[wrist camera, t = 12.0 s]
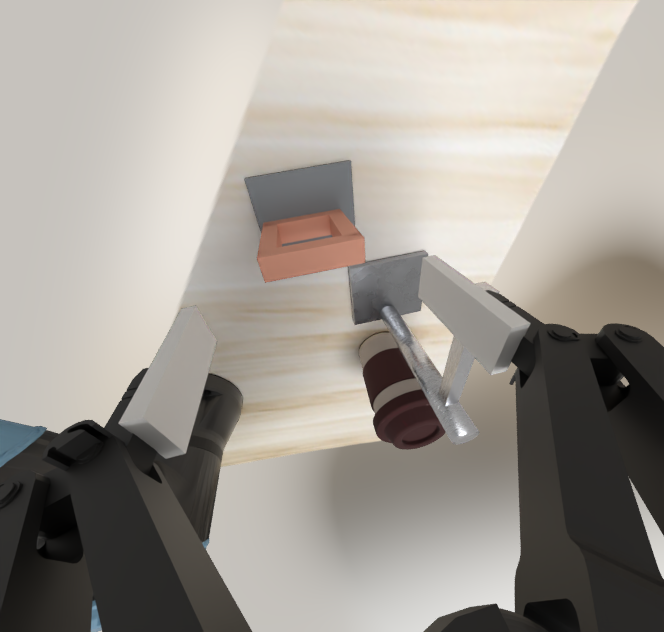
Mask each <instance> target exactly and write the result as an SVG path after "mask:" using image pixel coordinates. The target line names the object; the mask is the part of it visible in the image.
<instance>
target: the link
mask: <svg viewBox="0 0 664 632" xmlns="http://www.w3.org/2000/svg"><path fill="white" fill-rule="evenodd" d="M327 235H332V237H331V238H325V239H320V240H315V241H309V242H304V243H299V244H294V245H288V246H283V247H282V244H285V243H290V242H296V241H301V240H306V239H312V238H317V237H322V236H327ZM257 260H258V263H259V266H260V269H261V272H262V275H263V278H264V281H265V283H266V282H271V281H276V280H281V279H286V278H291V277H296V276H301V275H306V274H311V273H316V272H321V271H326V270H331V269H336V268H341V267H346V266H351V265H356V264H361V263H365V242H364V237H363V236H362V235H361V233H360V232H359V231H358V230H357V229H356V227H355V226H354V225H353V224H352V223H351V222H350V220H349V219H348V218H347V217H346V216H345V214H344V213H343V212H342V211H341V210H340V209H336V210H331V211H325V212H320V213H314V214H309V215H303V216H298V217H292V218H287V219H281V220H276V221H270V222H265V223H263V228H262V233H261V239H260V244H259V250H258V255H257Z"/></svg>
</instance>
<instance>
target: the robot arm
mask: <svg viewBox="0 0 664 632" xmlns="http://www.w3.org/2000/svg"><path fill="white" fill-rule="evenodd" d="M418 297H419V298H420V299H421V300H422V301H423V302H424V304H425V305H426V306H427V307H428V308H429V309H430V310H431V311H432V312H433V313H434V314H435V315H436V316H437V318H438V319H439V320H440V321H441V322H442V323H443V324H444V325H445V326H446V327H447V328H448V329H449V331H450V332H451V333H452V334H453V335H454V336H455V337H456V338H457V339H458V340H459V341H460V342H461V344H462V345H463V346H464V347H465V348H466V349H467V350H468V351H469V352H470V353H471V354H472V355H473V357H474V358H475V359H476V360H477V361H478V362H479V363H480V364H481V365H482V366H483V367H484V368H485V369H486V371H487V372H488V373H489V374H490V375H493V374H497V373H501V372H505V371H507V369H508V367H509V365H510V363H511V361H512V362H513V363H514V364H515V365H516V366H517V367H518V368H517V370H516V371H515V373H514V375H513V377H512V379H511V381H510V384H511V385H513V383H514V381H516V412H517V444H518V473H519V475H518V476H519V507H520V539H521V556H520V561H519V564H518V567H517V570H516V575H515V612H511V611H508V610H504V609H499V608H498V605H497V604H490V605H482V606H475V607H469V608H466V609H463V610H460V611H457V612H454V613H451V614H448V615H445V616H442V617H439V618H438V619H437V620H435V621H434V622H433V623H432V624H431V625H430V626H429V627H428V628H427V629H426V630H425V631H424V632H664V579H663V578H662V576H661V574H660V572H659V569H658V566H657V563H656V560H655V557H654V554H653V551H652V548H651V545H650V542H649V539H648V536H647V532H646V530H645V526H644V524H643V520H642V517H641V514H640V511H639V508H638V505H637V502H636V499H635V496H634V492H633V489H632V486H631V483H630V480H629V478H630V479H631V481H632V483H633V485H634V486H635V488H636V490H637V491H638V493H639V495H640V497H641V498H642V500H643V501H644V503H645V505H646V507H647V508H648V510H649V512H650V513H651V515H652V517H653V518H654V520H655V522H656V523H657V525H658V527H659V528H660V530H661V532H662V534H663V535H664V347H663V346H662V345H661V344H660V343H659V342H657V341H656V340H655V339H654V338H653V337H652V336H650V335H649V334H648V333H646V332H644V331H642V330H640V329H638V328H636V327H633V326H629V325H624V324H607V325H605V326H604V327H603V328H602V329H601V331H600V332H599V333H598V334H579V333H577V332H576V331H575V330H573V329H570V328H568V327H566V326H562V325H558V324H543V323H542V322H540V321H539V320H537V319H536V318H534V317H533V316H531V315H530V314H529V313H527V312H526V311H524V310H523V309H521V308H519V307H517V306H516V305H515V304H514V303H512V302H509V300H508V299H506V298H505V297H504V296H502V295H501V294H498V293H496V292H493V291H490V290H486V291H485V290H483V289H482V288H480V287H479V286H478V285H476V284H475V283H473V282H472V281H471V280H469V279H468V278H466V277H465V276H463V275H462V274H461V273H459V272H458V271H456V270H455V269H454V268H452V267H451V266H449V265H448V264H447V263H445V262H444V261H442V260H441V259H440V258H438V257H437V256H435V255H433V256H428V257H423V258H422V267H421V276H420V284H419V293H418ZM216 344H217V340H216V339H215V337H214V335H213V334H212V332H211V330H210V328H209V327H208V325H207V323H206V322H205V320H204V318H203V317H202V315H201V313H200V311H199V310H198V308H197V306H196V305H195V306H191V307H186V308H182V309H181V310H180V312H179V314H178V316H177V318H176V319H175V321H174V323H173V325H172V327H171V329H170V330H169V332H168V334H167V336H166V338H165V340H164V341H163V343H162V345H161V347H160V349H159V350H158V352H157V354H156V356H155V358H154V360H153V361H152V363H151V365H150V367H149V368H145V369H143V370H142V371H141V372H140V373H139V374H138V375H137V376H136V377H135V378H134V379H133V380H132V382H131V383H130V385H129V387H128V389H127V392H125V394H124V395H123V397H122V401H120V402H119V404H118V405H117V407H116V409H115V411H114V412H113V414H112V416H111V417H110V419H109V421H108V423H107V424H106V426H105V427H104V428H103V427H101V426H100V425H99V424H97V423H95V422H94V421H93V420H85V421H81V422H78V423H76V424H74V425H72V426H70V427H68V428H67V429H65V430H64V431H63V432H61V433H60V434H58V433H54V432H51V431H47V430H46V429H47V428H45V427H42V426H36V427H32V426H27V425H23V424H19V423H14V422H10V421H5V420H1V419H0V632H98V631H101V630H102V632H252V631H251V629H250V627H249V625H248V623H247V622H246V620H245V618H244V616H243V615H242V613H241V611H240V609H239V608H238V606H237V604H236V602H235V601H234V599H233V597H232V595H231V593H230V592H229V590H228V588H227V586H226V585H225V583H224V581H223V579H222V578H221V576H220V574H219V573H218V571H217V569H216V567H215V565H214V563H213V562H212V560H211V558H210V556H209V555H208V553H207V551H206V547H207V545H208V543H209V534H210V527H211V522H212V516H213V509H214V503H215V497H216V491H217V485H218V479H219V472H220V467H221V460H222V455H223V450H224V447H225V445H226V444H227V442H228V440H229V438H230V436H231V434H232V432H233V430H234V428H235V426H236V423H237V422H238V420H239V418H240V415H241V409H242V402H243V400H242V395H241V393H240V392H239V390H238V389H237V388H236V387H235V386H234V385H233V384H231V383H230V382H228V381H226V380H225V379H222V378H220V377H217V376H214V375H210V374H208V373H209V369H210V365H211V362H212V358H213V355H214V351H215V348H216ZM623 377H625V378H626V379H627V380H628V382H629V385H628V386H627V387H625V386H624V385H623V383H622V382H621V381H620V380H621V379H622V378H623ZM628 476H629V477H628Z"/></svg>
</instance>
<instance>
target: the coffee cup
mask: <svg viewBox="0 0 664 632" xmlns="http://www.w3.org/2000/svg"><path fill="white" fill-rule="evenodd" d="M359 357H360V360H361V364H362V368H363V377H364V381H365V384H366V388H367V392H368V396H369V400H370V403H371V407H372V409H373V411H374V412H375V416H374V419H373V425H374V428H375V431H376V434H377V436H378V438H380V439H381V440H382V441H385V442H389V443H393V445H394V446H395V447H397V448H399V449H415V448H420V447H423V446H426V445H428V444H430V443H432V442H434V441H436V440H437V439H439V438H440V437H442V436H443V435H444V434H445V432H446V431H445V430H444V428H443V426H442V424H441V423H440V421H439V419H438V417H437V415H436V414H435V412H434V410H433V408H432V407H431V405H430V403H429V401H428V400H427V398H426V396H425V394H424V392H423V391H422V389H421V387H420V385H419V384H418V382H417V380H416V378H415V376H414V375H413V373H412V371H411V369H410V368H409V366H408V364H407V362H406V360H405V359H404V357H403V355H402V353H401V352H400V350H399V348H398V346H397V345H396V343H395V341H394V339H393V337H392V336H391V334H390V333H378V334H375V335H373V336H371V337H369V338H368V339H367V340H365V341H364V343H363V344H362V345H361V347H360V350H359Z"/></svg>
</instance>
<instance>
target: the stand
mask: <svg viewBox="0 0 664 632" xmlns="http://www.w3.org/2000/svg"><path fill="white" fill-rule="evenodd" d="M423 257H428V253H427V252H426V251H420V252H415V253H410V254H405V255H400V256H395V257H390V258H385V259H380V260H375V261H370V262H365V263H361V264H356V265H351V266H348V269H349V280H350V291H351V302H352V313H353V321H354V324H355V325H357V324H362V323H366V322H371V321H376V320H380V319H382V320H383V321H384V323H385V325H386V327H387V329H388V330H389V332H390V334H391V336H392V337H393V339H394V341H395V343H396V345H397V346H398V348H399V350H400V352H401V353H402V355H403V357H404V359H405V360H406V362H407V364H408V366H409V368H410V369H411V371H412V373H413V375H414V376H415V378H416V380H417V382H418V384H419V385H420V387H421V389H422V391H423V392H424V394H425V396H426V398H427V400H428V401H429V403H430V405H431V407H432V408H433V410H434V412H435V414H436V415H437V417H438V419H439V421H440V423H441V424H442V426H443V428H444V430H445V431H446V433H447V435H448V437H449V438H450V440H451V442H452V443H453V444H462V443H466V442H468V441H470V440H472V439H474V438H475V437H476V436H477V435H478V434H479V431H478V429H477V428H476V426H475V425H474V423H473V422H472V420H471V419H470V417H469V416H468V414H467V413H466V411H465V410H464V408H463V407H462V405H461V404H460V403H459V399H460V396H461V393H462V391H463V388H464V385H465V383H466V380H467V377H468V375H469V372H470V369H471V366H472V364H473V361H474V357H473V355H472V354H471V353H470V352H469V351H468V350H467V349H466V348H465V347H464V346H463V345H462V344H461V342H460V341H459V340H458V339H457V338H456V337H455V336H454V337H453V341H452V344H451V348H450V352H449V356H448V359H447V363H446V367H445V371H444V374H443V377H442V376H441V374H440V373H439V371H438V370H437V369H436V367H435V366H434V364H433V363H432V361H431V360H430V358H429V357H428V355H427V354H426V352H425V351H424V349H423V348H422V346H421V345H420V343H419V342H418V340H417V339H416V338H415V336H414V335H413V333H412V332H411V330H410V329H409V327H408V326H407V324H406V323H405V321H404V320H403V318H402V317H401V315H404V314H408V313H413V312H418V311H421V304H422V300H421V299H420V298H419V297H418V293H419V284H420V276H421V267H422V258H423ZM476 285H478V286H479V287H480V288H482V289H483V290H485V291H486V290H490V291H493V292H496V293H498V294H499V291H498V290H497V289H495V288H494V287H492V286H491V285H489V284H488V283H487V282H481V283H476Z"/></svg>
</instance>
